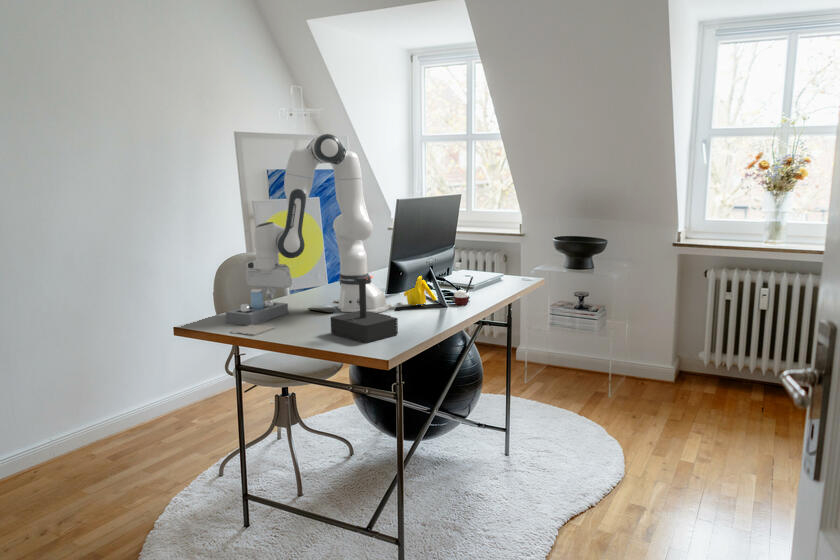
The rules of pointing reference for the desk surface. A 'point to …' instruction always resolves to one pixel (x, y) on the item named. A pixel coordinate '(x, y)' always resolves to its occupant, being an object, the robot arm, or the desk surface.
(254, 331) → the mat
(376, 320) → the black post stand
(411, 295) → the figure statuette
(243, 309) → the plunger
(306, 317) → the desk surface
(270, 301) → the plunger
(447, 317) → the desk surface
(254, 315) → the housing
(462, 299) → the cocoa
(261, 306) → the cartridge
